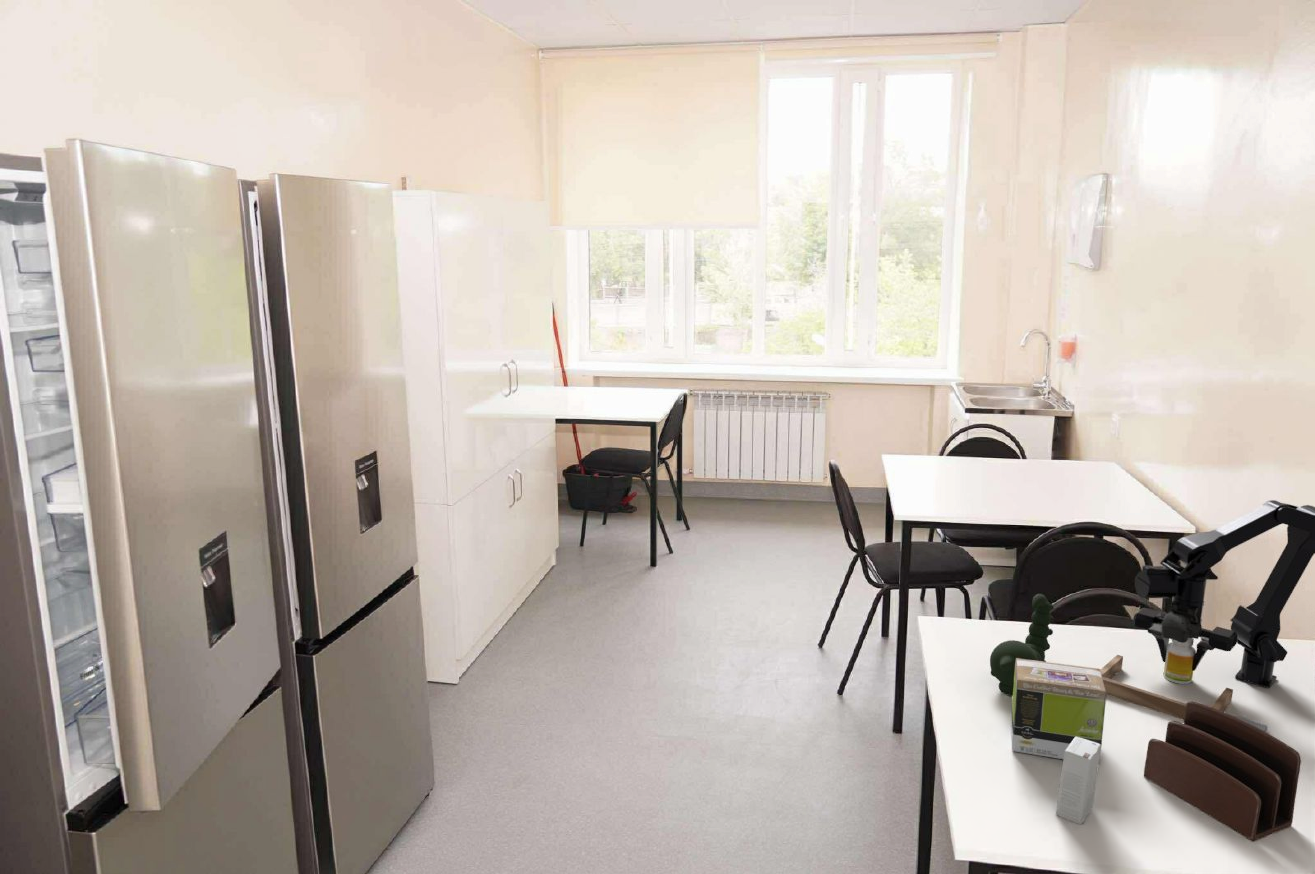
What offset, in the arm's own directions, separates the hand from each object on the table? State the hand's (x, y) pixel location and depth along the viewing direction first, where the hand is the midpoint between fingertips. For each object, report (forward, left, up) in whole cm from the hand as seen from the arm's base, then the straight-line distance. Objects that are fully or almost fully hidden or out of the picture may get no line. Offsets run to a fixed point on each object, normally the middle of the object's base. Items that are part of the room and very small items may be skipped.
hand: (1179, 665), depth 199 cm
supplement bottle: (0, 0, -3) cm, 3 cm away
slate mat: (+16, +15, -3) cm, 22 cm away
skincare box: (+64, +3, -3) cm, 64 cm away
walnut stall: (+12, 0, -3) cm, 12 cm away
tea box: (+46, -8, -3) cm, 47 cm away
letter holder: (+44, +18, -3) cm, 47 cm away
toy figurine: (+26, -23, -3) cm, 35 cm away
